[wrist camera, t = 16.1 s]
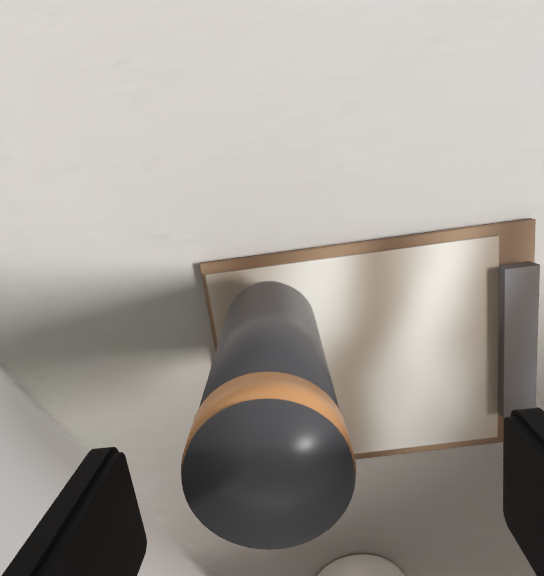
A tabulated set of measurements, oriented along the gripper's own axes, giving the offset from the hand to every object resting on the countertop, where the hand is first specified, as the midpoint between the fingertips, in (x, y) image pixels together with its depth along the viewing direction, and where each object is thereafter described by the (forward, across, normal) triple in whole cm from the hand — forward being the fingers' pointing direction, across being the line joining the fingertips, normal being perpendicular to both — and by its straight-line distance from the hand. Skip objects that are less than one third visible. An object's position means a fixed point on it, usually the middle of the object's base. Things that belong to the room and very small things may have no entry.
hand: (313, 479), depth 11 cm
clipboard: (+12, -3, +3) cm, 13 cm away
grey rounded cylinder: (+11, +2, -1) cm, 12 cm away
